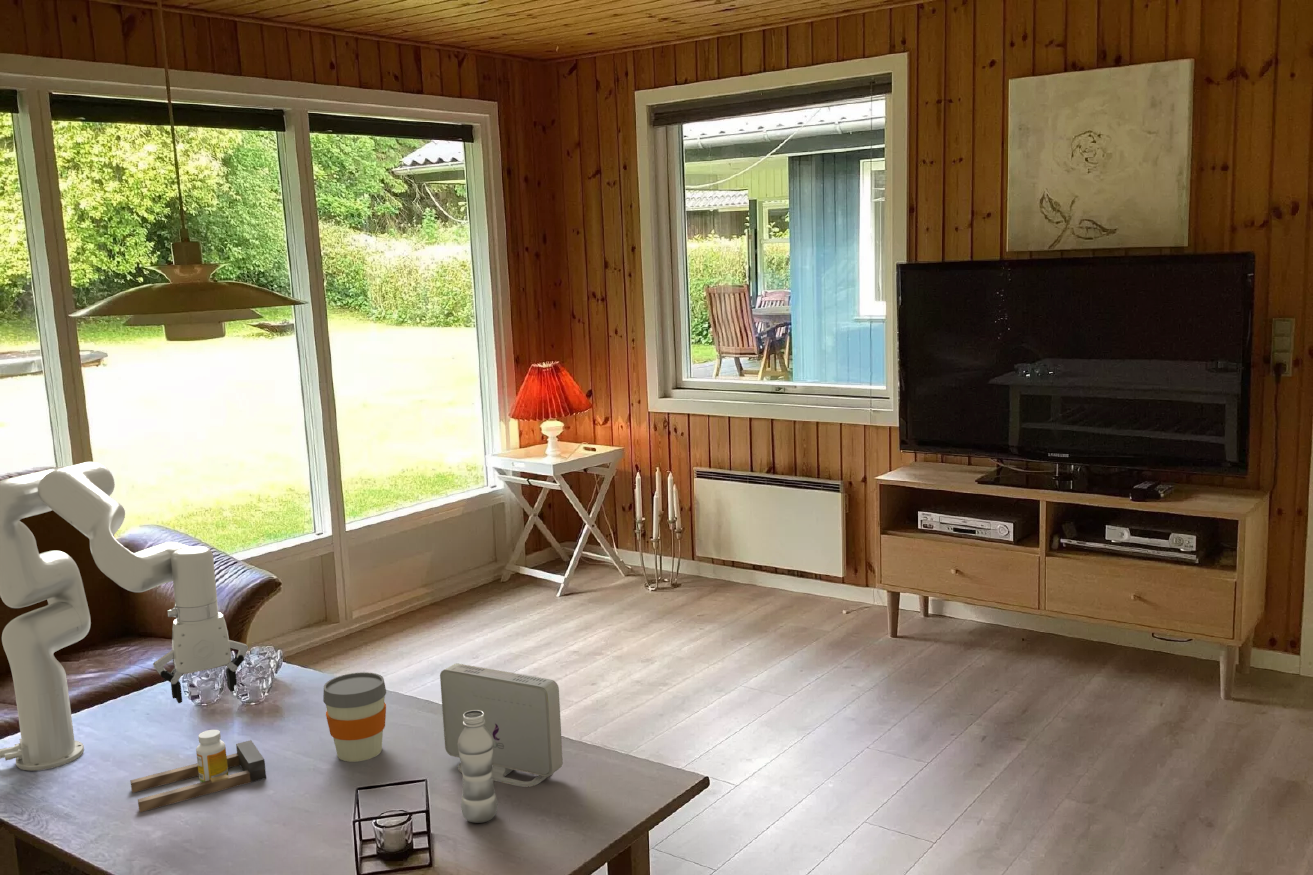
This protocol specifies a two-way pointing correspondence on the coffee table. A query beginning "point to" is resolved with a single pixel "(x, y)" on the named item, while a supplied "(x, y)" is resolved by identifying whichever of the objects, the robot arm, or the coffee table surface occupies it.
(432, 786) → the coffee table surface
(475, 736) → the plastic bottle
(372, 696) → the reusable coffee cup
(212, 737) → the supplement bottle
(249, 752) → the guide channel
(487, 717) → the network device
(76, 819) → the coffee table surface
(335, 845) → the coffee table surface
